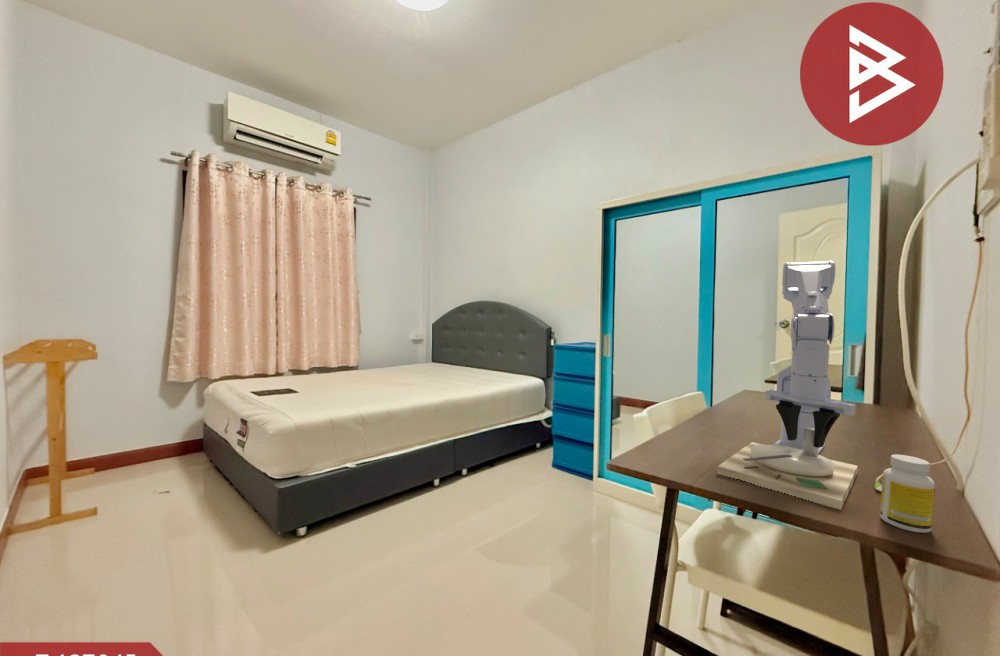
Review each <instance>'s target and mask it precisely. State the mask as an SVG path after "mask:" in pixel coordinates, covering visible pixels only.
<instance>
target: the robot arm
mask: <svg viewBox="0 0 1000 656" xmlns="http://www.w3.org/2000/svg"><path fill="white" fill-rule="evenodd" d="M835 279H836V263H835V261H834V260H828V261H826V260H825V261H802V262H800V261H799V262H796V261H795V262H789V261H786V262H785V263H784V264H783V267H782V280H781V281H782V282H781V283H782V285H781V286H782V292H781V293H782V295H783V300H785V301H788V302H790V303H791V306H792V309H793V316H792V317H791V323H790V340H791V351H792V353H791V365H789V366H788V367H786V368H783V369H782V370H780V371H779V373H778V374H777V379H776V380H777V381H776V390H775V389H774V390H773V389H770V390H769V389H768V390H767V389H766V390H765V400H767V401H773V402H774V401H775V402H776V403H777V404H776V405H775V409H776V410H777V412H778V413H779V416H780V418H781V421H780V422H781V423H780V437H779V438H780V439H778V440H777V441H776V442H774V445H779V446H786V447H792V448H797V449H801V450H803V437H804V428H805V427H809V428H815V434H814V447H817V448H818V455H820V453H821V451H823V449H824V448H825V445H826V444H825V442H826V439H827V437H828V434H829V432H830V430H831V429H832V427H833V426H834V424H836V423H835V422H836V421H837V420H838V419H839V418H840V416H841V415H842V414H843V415H845V416H849V417H852V416H855V415H856V407H857V405H856V404H855V403H848V402H845V401H840V400H835V399H831V396H832V395H831V394H832V391H831V389H832V388H831V385H830V384H831V382H830V381H831V378H830V377H829V375H828V374H829V373H828V372H829V362H830V361H829V359H830V358H829V357H830V355H829V354H830V345H832V343H833V339H834V336H835V318H834V315H833V313H832V312H829V311H830V309H829V304H828V303H829V300H830V297H831V295H832V292H833V287H834V285H835ZM828 342H829V344H828Z"/></svg>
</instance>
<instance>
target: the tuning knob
mask: <svg viewBox="0 0 1000 656" xmlns="http://www.w3.org/2000/svg"><path fill="white" fill-rule="evenodd" d="M814 434H815V428H809V427H805V428H804V437H803V450H801V449H797V448H792V447H786V446H779V445H775V444H764V445H756V446H753V447H752V448H751V457H752V458H743V460H745V461H751V460H755V461H757V462H759V463H761V464H763V465H765V466H768V467H771V468H774V469H777V470H781V471H785V472H789V473H794V474H800V475H807V476H827V475H831V474H833V472H834V463H833V462H832V461H830V460H831V459H830V458H827V457H825V456H823V455H821V454H818V448H817V447H814ZM829 459H830V460H829Z"/></svg>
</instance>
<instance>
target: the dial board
mask: <svg viewBox="0 0 1000 656" xmlns="http://www.w3.org/2000/svg"><path fill="white" fill-rule="evenodd" d="M756 445H765V444H763V443H758V442H755V441H751V442H749V443H748V444H747V445H746V446H744V447H742V448H741V449H740V450H738V451H737V452H736V453H734V454H733V455H731V456H730V457H729V458H727V459H726V460H724V461H722V463H721V464H719V465H718V466H717V472H716V474H717V475H718V476H719V475H720V476H723V477H726V476H727V478H729V477H731V478H730V479H733V478H735V479H734V480H736V479H740V480H743V481H746V482H745V483H747V482H749V483H748V484H750V483H752V484H751V485H753V484H755V485H754V486H757V485H758V486H757V487H760V486H761V488H764V487H765V488H764V489H767V488H768V489H767V490H770V489H772V490H771V491H774V490H775V491H774V492H777V491H779V492H778V493H781V492H782V493H781V494H784V493H786V494H785V495H787V494H789V495H788V496H791V495H792V496H791V497H794V496H796V497H795V498H798V497H799V498H798V499H801V498H803V499H802V500H805V499H806V501H808V500H809V501H808V502H811V501H812V503H816V504H818V505H821V506H826V507H829V508H832V509H836V510H839V511H842V509H843V507H844V504H845V502H846V500H847V497H848V495H849V494H850V490H851V489H852V486H853V484H854V481H855V480H856V477H857V474H858V465H856V464H852V463H847V462H844V461H839V460H834V459H830V458H828V459H829V460H830V461H832V462H833V463H834V472H833V474H831V475H827V476H807V475H800V474H794V473H789V472H785V471H781V470H777V469H774V468H771V467H768V466H765V465H763V464H761V463H759V462H757V461H755V460H751V461H745V460H743V458H752V457H751V448H752V447H753V446H756ZM740 480H739V481H740ZM743 481H742V482H743Z"/></svg>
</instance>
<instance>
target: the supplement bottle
mask: <svg viewBox="0 0 1000 656" xmlns="http://www.w3.org/2000/svg"><path fill="white" fill-rule="evenodd" d="M890 466H892V467H890V468H886V469H885V470H884V471H883V473H882V480H881V481H882V482H881V483H882V484H881V497H880V508H879V516H880V519H882V520H883V521H884V522H886V523H887V524H889V525H891V526H893V527H896V528H899V529H901V530H905V531H907V532H914V533H923V534H927V533H930V532H931V531H932V528H933V527H932V526H933V517H934V503H935V493H936V492H935V491H936V483H935V481H934V480H933V478H931V476H928V475H927V474H929V473H930V466H931V465H930V462H929V461H927V460H925V459H923V458H919V457H915V456H912V455H905V454H897V453H896V454H894V453H893V454H892V455H890Z"/></svg>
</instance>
